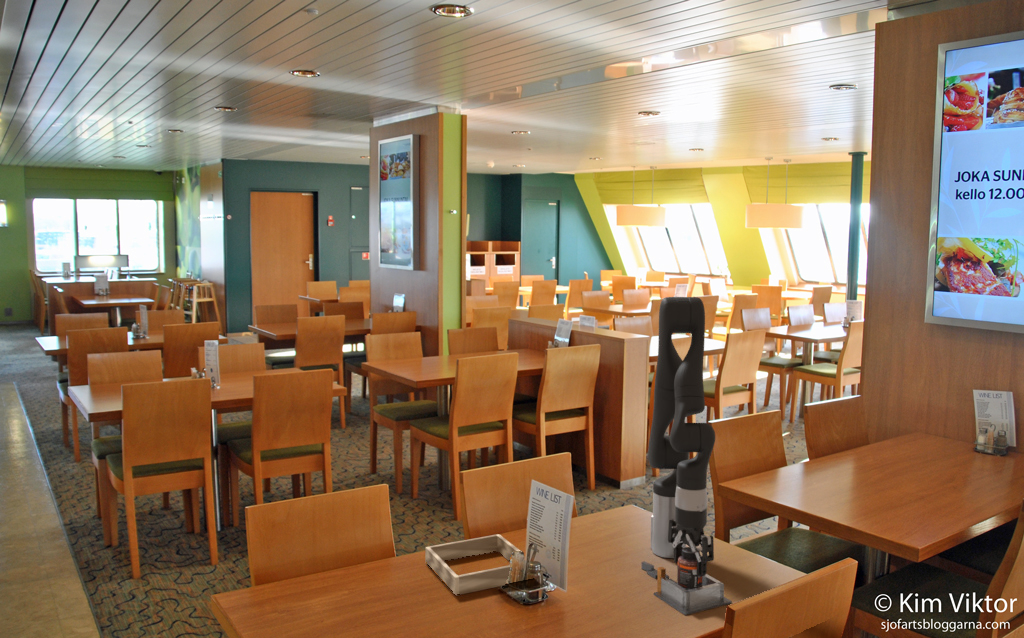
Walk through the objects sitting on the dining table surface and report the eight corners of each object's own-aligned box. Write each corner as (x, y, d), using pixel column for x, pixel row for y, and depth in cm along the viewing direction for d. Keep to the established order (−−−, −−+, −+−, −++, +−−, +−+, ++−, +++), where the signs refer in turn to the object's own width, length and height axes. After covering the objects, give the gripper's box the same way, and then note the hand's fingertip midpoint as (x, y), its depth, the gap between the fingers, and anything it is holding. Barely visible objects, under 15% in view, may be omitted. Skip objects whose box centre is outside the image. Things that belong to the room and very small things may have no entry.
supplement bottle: (702, 601, 181) (703, 555, 180) (677, 599, 183) (677, 553, 182) (701, 590, 187) (702, 546, 186) (676, 588, 188) (677, 544, 187)
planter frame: (425, 563, 206) (425, 547, 205) (499, 549, 215) (499, 534, 215) (455, 595, 186) (455, 577, 186) (534, 578, 195) (534, 561, 195)
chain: (639, 568, 202) (639, 562, 201) (646, 567, 203) (646, 560, 202) (672, 589, 189) (672, 582, 189) (679, 587, 190) (679, 581, 190)
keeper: (653, 594, 186) (653, 568, 186) (698, 583, 192) (698, 558, 192) (684, 615, 175) (685, 588, 175) (731, 603, 181) (732, 576, 181)
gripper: (660, 497, 188) (659, 561, 189) (698, 516, 175) (696, 583, 176) (684, 493, 191) (683, 555, 192) (723, 511, 178) (721, 577, 180)
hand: (689, 568), depth 184 cm, fingers open, 8 cm apart
